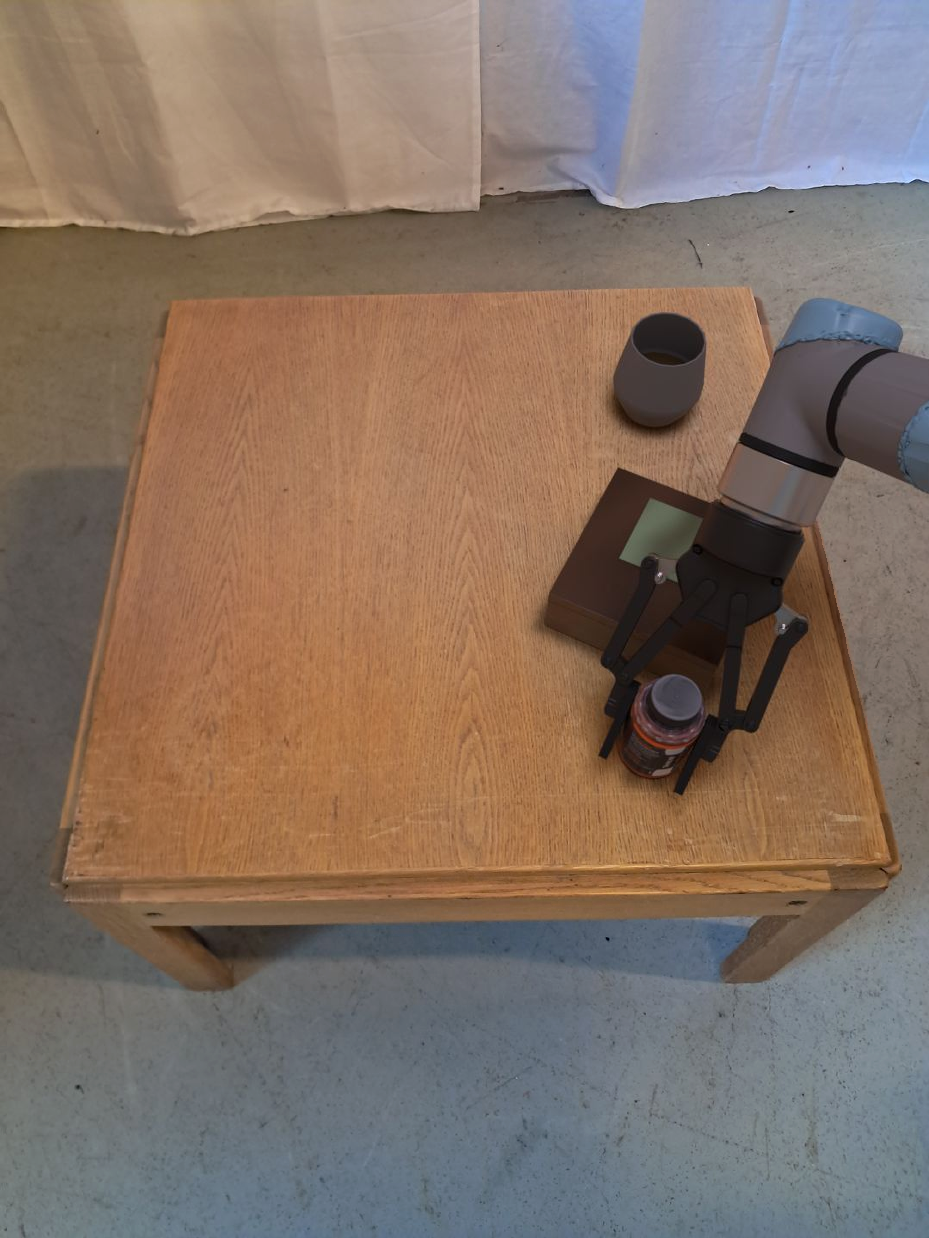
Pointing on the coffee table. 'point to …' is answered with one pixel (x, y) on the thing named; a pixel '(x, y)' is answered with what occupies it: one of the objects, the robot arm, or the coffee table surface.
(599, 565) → the dark wooden box
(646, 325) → the cup
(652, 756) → the supplement bottle
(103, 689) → the coffee table surface
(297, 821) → the coffee table surface
